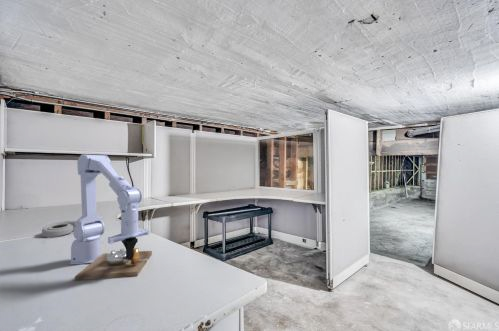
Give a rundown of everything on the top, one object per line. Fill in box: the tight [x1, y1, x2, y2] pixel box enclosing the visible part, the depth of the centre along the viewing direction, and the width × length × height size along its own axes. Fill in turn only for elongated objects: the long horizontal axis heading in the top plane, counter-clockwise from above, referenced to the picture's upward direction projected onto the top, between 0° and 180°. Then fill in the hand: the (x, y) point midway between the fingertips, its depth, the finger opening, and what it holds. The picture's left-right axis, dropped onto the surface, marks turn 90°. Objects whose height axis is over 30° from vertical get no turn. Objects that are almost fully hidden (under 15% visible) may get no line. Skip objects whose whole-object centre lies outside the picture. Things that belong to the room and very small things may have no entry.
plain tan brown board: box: [74, 250, 153, 281], centre depth 94 cm, size 21×22×2 cm
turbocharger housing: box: [41, 220, 77, 238], centre depth 141 cm, size 17×6×15 cm
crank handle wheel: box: [107, 247, 140, 265], centre depth 93 cm, size 14×8×6 cm, turn 66°
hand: (129, 258), depth 89 cm, fingers closed, pressing on crank handle wheel
